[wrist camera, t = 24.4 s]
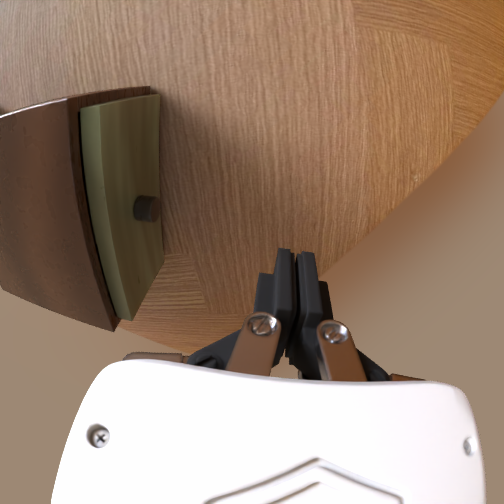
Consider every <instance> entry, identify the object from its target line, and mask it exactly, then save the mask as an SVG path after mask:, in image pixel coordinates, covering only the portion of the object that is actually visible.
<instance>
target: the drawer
mask: <svg viewBox="0 0 504 504" xmlns="http://www.w3.org/2000/svg"><path fill="white" fill-rule="evenodd" d="M159 114H160V94H151V95H140V96H134V97H128V98H123V99H117V100H112V101H108V102H103V103H99V104H94V105H90V106H86V107H82V108H80V112H78V129H79V145H80V157H81V166H82V175H83V183H84V190H85V196H86V203H87V208H88V214H89V219H90V224H91V229H92V234H93V239H94V243H95V247H96V252H97V256H98V260H99V264H100V267H101V271H102V275H103V278H104V282H105V285H106V289H107V292H110V296H111V299H112V302H113V305H114V308H115V311H116V314H117V317H118V318H121V319H125V320H129V321H133V319H134V317H135V315H136V313H137V311H138V309H139V307H140V305H141V303H142V301H143V300H144V298H145V296H146V294H147V292H148V290H149V288H150V287H151V285H152V283H153V281H154V279H155V277H156V276H157V274H158V272H159V270H160V269H161V267H162V265H163V263H164V253H163V242H162V228H161V212H160V209H161V202H160V189H159Z"/></svg>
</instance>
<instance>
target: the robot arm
mask: <svg viewBox="0 0 504 504" xmlns="http://www.w3.org/2000/svg"><path fill="white" fill-rule="evenodd" d="M284 349H285V357H288V358H289V364H290V365H294V366H295V367H296V368H297V369H298V379H290V378H279V377H270V372H271V368H273V367H274V366H276V365H277V364H279V361H280V358H281V357H282V356H283V353H284ZM51 504H487V493H486V476H485V466H484V459H483V453H482V447H481V441H480V436H479V432H478V428H477V425H476V420H475V417H474V414H473V411H472V408H471V406H470V403H469V401H468V399H467V397H466V395H465V394H464V392H463V391H461V390H460V389H459V388H456V387H455V386H453V385H450V384H447V383H443V382H438V381H427V380H424V379H418V378H413V377H408V376H403V375H397V374H391V375H388V374H387V373H386V372H385V371H384V370H383V369H382V368H381V367H380V366H378V365H377V364H375V363H374V362H373V361H372V360H371V359H369V358H368V357H367V356H366V355H364V354H363V353H362V352H360V351H359V350H358V349H357V348H356V347H355V344H354V342H353V339H352V336H351V334H350V331H349V329H348V328H347V327H346V326H345V325H344V324H343V323H341V322H339V321H336V320H333V313H332V307H331V302H330V296H329V291H328V285H327V282H324V281H318V274H317V268H316V262H315V256H314V253H312V252H305V251H302V253H301V254H297V257H296V261H295V255H294V253H291V252H290V249H285V248H278V253H277V258H276V264H275V269H274V274H266V273H259V277H258V283H257V290H256V296H255V304H254V311H253V313H251V314H249V315H248V316H247V317H246V318H245V320H244V322H243V325H242V328H241V329H240V330H238V331H236V332H234V333H232V334H230V335H228V336H226V337H224V338H222V339H220V340H218V341H216V342H215V343H213V344H211V345H209V346H207V347H205V348H202V349H200V350H198V351H196V352H195V353H193V354H192V355H191V356H182V354H181V353H150V352H149V353H148V352H133V353H130V354H128V355H126V356H125V357H124V358H123V360H122V361H120V362H116V363H113V364H111V365H109V366H107V367H106V368H104V369H103V370H102V371H101V372H100V373H99V375H98V376H97V377H96V379H95V380H94V382H93V383H92V385H91V387H90V388H89V390H88V392H87V394H86V396H85V398H84V400H83V402H82V404H81V406H80V409H79V411H78V413H77V416H76V418H75V421H74V423H73V426H72V429H71V431H70V434H69V437H68V440H67V443H66V446H65V449H64V453H63V456H62V459H61V463H60V466H59V470H58V474H57V478H56V482H55V487H54V491H53V496H52V502H51Z"/></svg>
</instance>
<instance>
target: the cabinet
mask: <svg viewBox="0 0 504 504" xmlns="http://www.w3.org/2000/svg"><path fill="white" fill-rule="evenodd" d="M140 95H150V86H141V87H128V88H118V89H110V90H102V91H95V92H89V93H83V94H77V95H72V96H67V97H62V98H57V99H53V100H49V101H45V102H41V103H37V104H33V105H30V106H26V107H23V108H20V109H17V110H14V111H11V112H8V113H5V114H3V115H0V285H1V287H2V289H3V290H5V291H7V292H9V293H11V294H13V295H15V296H18V297H20V298H22V299H24V300H27V301H29V302H31V303H34V304H36V305H39V306H41V307H43V308H46V309H48V310H51V311H53V312H56V313H59V314H61V315H64V316H67V317H69V318H72V319H75V320H78V321H81V322H84V323H87V324H89V325H93V326H96V327H99V328H102V329H105V330H108V331H112V332H114V331H115V329H116V327H117V326H118V324H119V322H120V320H121V318H118V317H117V314H116V311H115V308H114V305H113V302H112V299H111V296H110V292H107V289H106V285H105V282H104V278H103V275H102V271H101V267H100V264H99V260H98V256H97V252H96V247H95V243H94V239H93V234H92V229H91V224H90V219H89V214H88V208H87V203H86V196H85V190H84V183H83V175H82V166H81V157H80V145H79V129H78V112H80V108H82V107H86V106H90V105H94V104H99V103H103V102H108V101H112V100H117V99H123V98H128V97H134V96H140Z"/></svg>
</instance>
